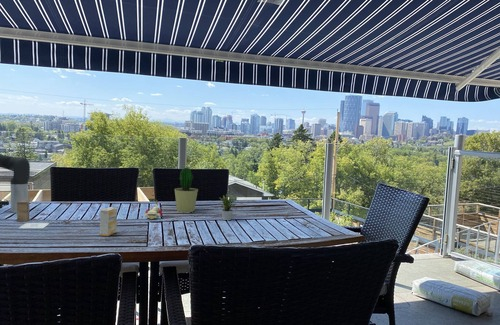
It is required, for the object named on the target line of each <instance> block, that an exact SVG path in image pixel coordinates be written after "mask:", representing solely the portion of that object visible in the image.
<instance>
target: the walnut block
mask: <svg viewBox="0 0 500 325" xmlns="http://www.w3.org/2000/svg"><path fill="white" fill-rule="evenodd" d="M16 216H17V217H16V222H17V223H28V222H29V221H30V200H28V201H19V202H17V213H16Z"/></svg>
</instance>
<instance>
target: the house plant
mask: <svg viewBox="0 0 500 325" xmlns="http://www.w3.org/2000/svg"><path fill="white" fill-rule="evenodd" d="M222 196H223V197H222V198H221V197H220V196H219V200H221V202H222V203H220V202H217V204H218V205H220V206H222V209H221V217H222V221H223V220H231V221H232V217H233V209H232V208H233V207H235V206H237V204H238V203H234V202H236V201H237V202H238V201H239V200H238V199H237V197H236V198H234V195H232V194H231V195H230V196H229V197H228V194H227V193H226V194H225V195H224V194H223V195H222ZM225 196H226V197H225Z"/></svg>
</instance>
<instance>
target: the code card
mask: <svg viewBox="0 0 500 325" xmlns="http://www.w3.org/2000/svg"><path fill="white" fill-rule="evenodd" d="M49 224H50V222H24V224H22V225H21V226H19V227H18V229H44V228H45V227H47V226H48V225H49Z"/></svg>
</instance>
